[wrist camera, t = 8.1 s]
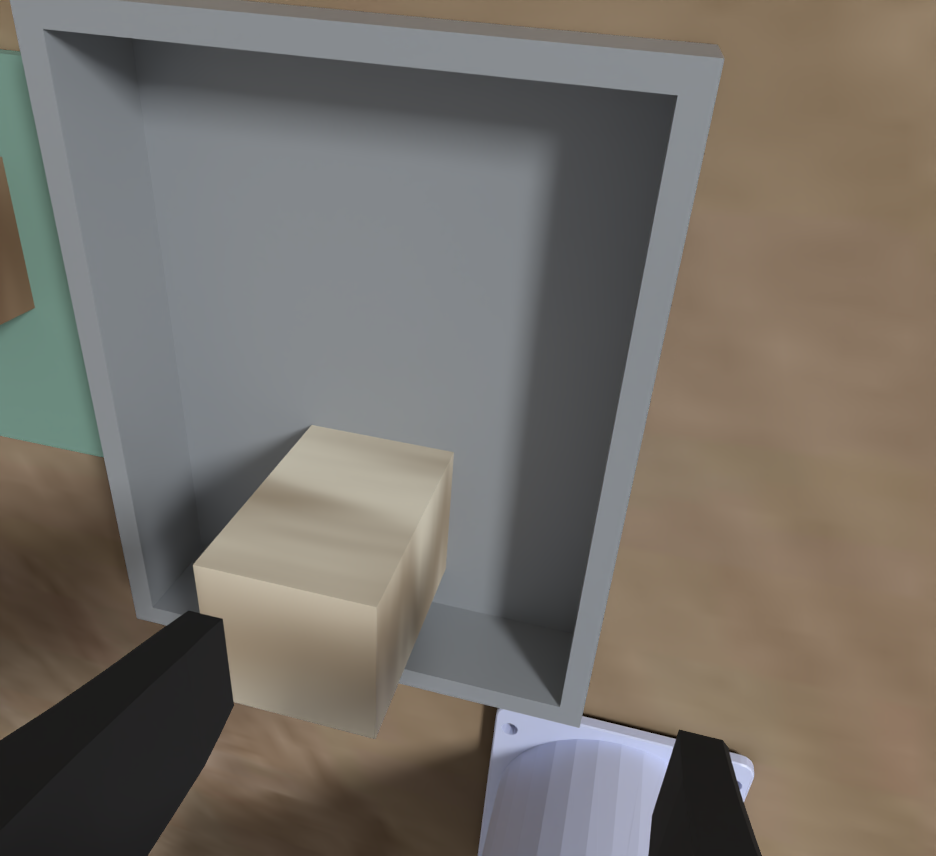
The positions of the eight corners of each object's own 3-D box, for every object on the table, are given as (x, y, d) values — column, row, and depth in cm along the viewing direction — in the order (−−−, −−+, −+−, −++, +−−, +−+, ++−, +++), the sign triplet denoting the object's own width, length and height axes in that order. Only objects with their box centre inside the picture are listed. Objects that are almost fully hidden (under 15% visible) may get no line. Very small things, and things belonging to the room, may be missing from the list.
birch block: (445, 568, 22) (375, 738, 17) (316, 540, 23) (212, 696, 18) (453, 451, 20) (376, 607, 15) (311, 424, 21) (192, 564, 16)
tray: (592, 640, 23) (579, 727, 20) (195, 550, 25) (136, 618, 23) (717, 44, 15) (724, 58, 12) (114, -12, 17) (7, -11, 14)
